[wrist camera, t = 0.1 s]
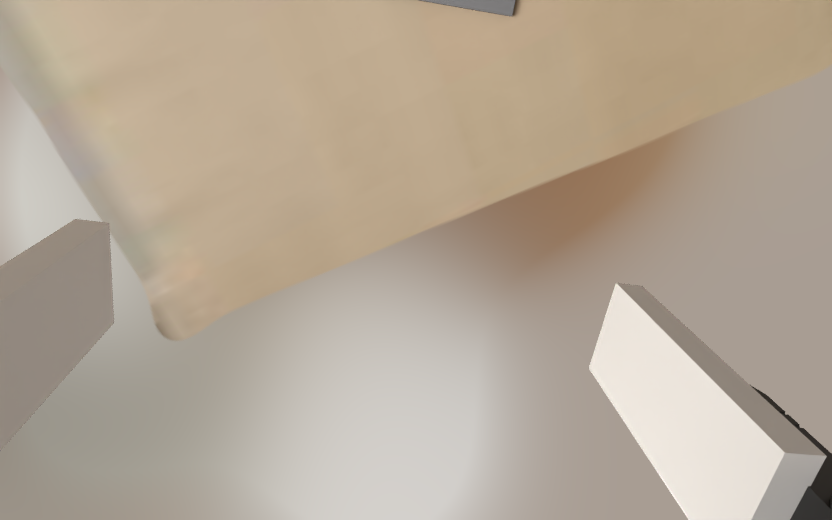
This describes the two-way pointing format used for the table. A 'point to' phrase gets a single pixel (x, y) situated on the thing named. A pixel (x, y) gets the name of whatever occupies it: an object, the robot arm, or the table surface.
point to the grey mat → (481, 5)
